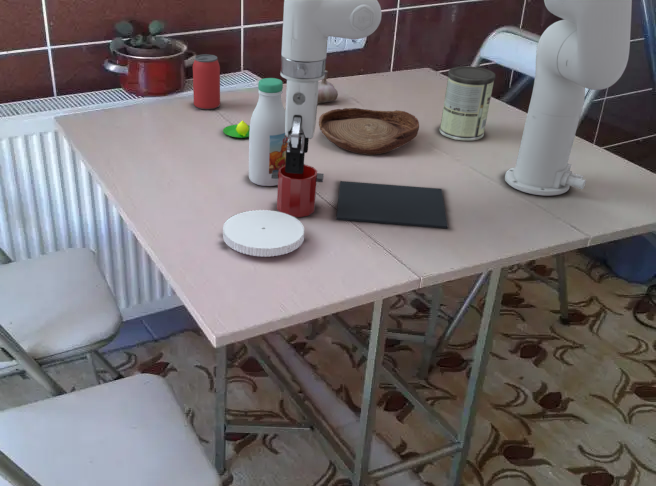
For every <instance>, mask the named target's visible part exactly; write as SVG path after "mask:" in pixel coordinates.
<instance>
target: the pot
mask: <svg viewBox="0 0 656 486" xmlns="http://www.w3.org/2000/svg"><path fill="white" fill-rule="evenodd" d="M271 178H273V179H278V185H277V192H276V193H277V194H276V195H277V196H276V197H277V198H276V200H277V201H276V211H277V212H283V213H286V214H289V215H291V216H293V217H294V218H303V217H309V216H310V215H312V214H313V213H315V209H316V198H317V196H316V195H317V185H318V183H324V178H325V174H324V173H320V172H318V170H317V169H316V168H315V167H314V166H312V165H308V164H305V163H304V170H303V173H302V174H294V173H286V172H285V165H284V166H282V167H281V168H279V170H273V172H272V176H271Z"/></svg>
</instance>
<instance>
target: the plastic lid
mask: <svg viewBox="0 0 656 486" xmlns="http://www.w3.org/2000/svg"><path fill="white" fill-rule="evenodd" d="M222 239H223V241H224V243H225V245H227V246H228V247H229V248H231V249H232V250H234V251H236V252H239V253H240V254H243V255H247V256H248V255H249V256H253V257H260V258H261V257H265V258H267V257H269V258H270V257H274V256H276V257H278V256H281V255H283V256H284V255H285V254H286V255H287V254H288V253H291V252H294V251H296V250H297V249H298V248H300V247H301V246H302V245H303V243H304V240H305V227H304V225H303V223H302V222H301V221H300V220H299V218H297V217H293V216H291V215H289V214H286V213H283V212H279V211H277V210H272V209H271V210H270V209H268V210H267V209H254V210H252V209H251V210H247V211H244V212H243V211H242V212H238V213H236V214H234V215H232V216H230V217H229V218H228V219H227V220H226V221H225V222H224V223H223V225H222Z"/></svg>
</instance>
